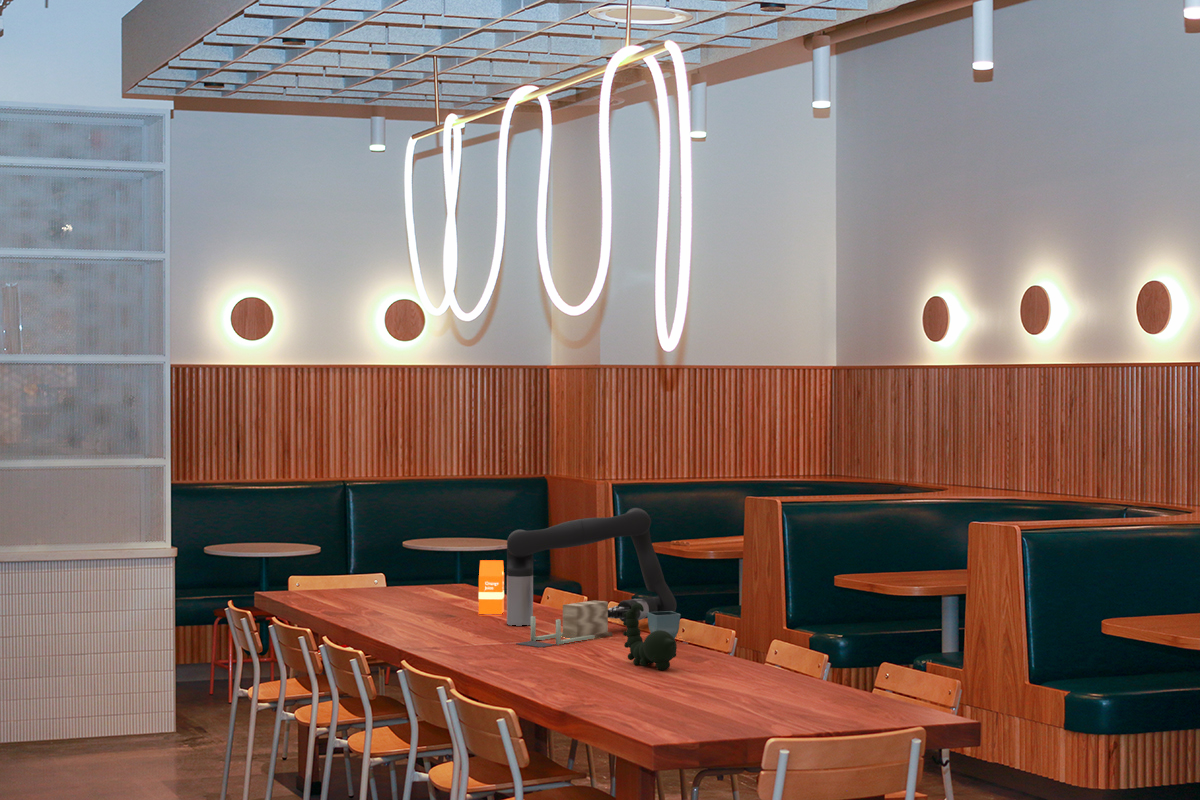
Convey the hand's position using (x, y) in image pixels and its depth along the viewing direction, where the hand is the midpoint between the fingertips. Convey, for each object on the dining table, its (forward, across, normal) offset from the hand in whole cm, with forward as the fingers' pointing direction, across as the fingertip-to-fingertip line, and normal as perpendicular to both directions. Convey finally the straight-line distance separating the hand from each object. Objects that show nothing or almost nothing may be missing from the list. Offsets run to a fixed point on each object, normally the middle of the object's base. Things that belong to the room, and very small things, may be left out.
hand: (600, 615), depth 461 cm
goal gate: (+19, 0, +6) cm, 20 cm away
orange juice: (-12, -63, +6) cm, 65 cm away
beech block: (+8, 0, +6) cm, 10 cm away
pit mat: (+32, 0, +6) cm, 33 cm away
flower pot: (-2, +25, +6) cm, 26 cm away
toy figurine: (+40, +52, +7) cm, 66 cm away
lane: (+6, 0, +6) cm, 9 cm away
